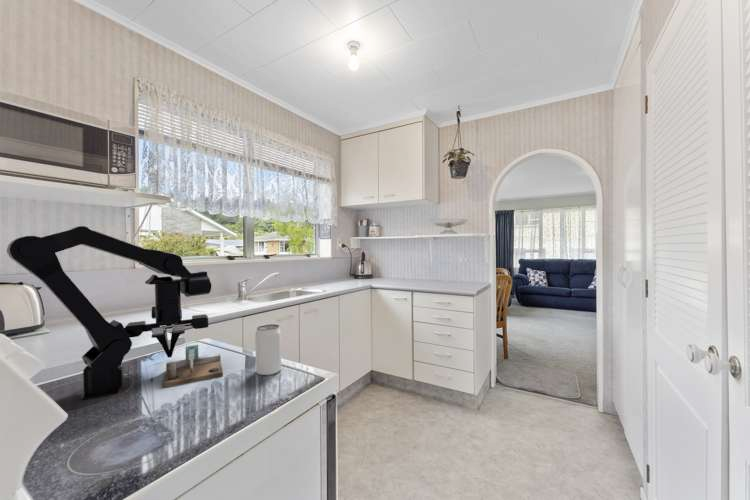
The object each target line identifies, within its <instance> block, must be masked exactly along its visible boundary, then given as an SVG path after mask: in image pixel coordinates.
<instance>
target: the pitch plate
mask: <svg viewBox="0 0 750 500" xmlns="http://www.w3.org/2000/svg"><path fill="white" fill-rule="evenodd" d="M222 366H223V365H222V362H221V353H216V354H211V355H204V356H198V359H196V360H193V373H190V361H186V358H185V359H180V360H174V361H168V362H166V363H165V368H166V369H165V373H164V377H163V382H162V388H163V389H164V388H169V387H174V386H179V385H184V384H189V383H193V382H194V383H195V382H199V380H200V381H204V380H203V379H205V380H209V378H210V379H215V378H220V377H223V375H224V372H223V367H222ZM219 376H220V377H219Z"/></svg>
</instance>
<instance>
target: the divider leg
mask: <svg viewBox="0 0 750 500" xmlns="http://www.w3.org/2000/svg"><path fill="white" fill-rule="evenodd" d="M198 357H199V344H194V345H188V346H185V359H186V361H190V373H193V360H196V359H198Z"/></svg>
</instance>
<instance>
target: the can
mask: <svg viewBox="0 0 750 500" xmlns="http://www.w3.org/2000/svg"><path fill="white" fill-rule="evenodd" d="M281 335H282V333H281V329H280V325H279V324H275V323H274V324H273V323H271V324H270V323H269V324H263V325H259V326H257V327H256V332H255V338H254V339H255V340H254V341H255V370H256V371H255V373H257V375H259V374H260V375H259V376H262V375H268V376H273V375H276V374H278V373H279V372H281V369H282V337H281ZM275 373H276V374H275ZM272 374H273V375H272Z"/></svg>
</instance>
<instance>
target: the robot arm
mask: <svg viewBox="0 0 750 500" xmlns="http://www.w3.org/2000/svg"><path fill="white" fill-rule="evenodd" d="M77 246H85V247H88V248H91V249H95V250H98V251H102V252H104V253H107V254H111V255H114V256H117V257H121V258H123V259H126V260H130V261H133V262H135V263H138V264H140V265H141V266H143V267H144V268H146V269H149V270H150V271H152V272H155V273H157V274H161V275H167V276H158V275H157V274H151V276H150V277H149V278H148V279H147V280H145V281H144V284H146V285H154V296H155V297H154V298H155V299H154V300H155V304H154V306H151V316H150V317H151V318H152V319H154V320H155V323H154V322H153V323H146V321H145V320H141V321H133V322H128V323H127V324H126V326H124V325H123V324H122V322H119V321H117V320H115V319H112V320H111V321H110V322H109V321H108V320H106V319H105V318H104V316H103V315H102V314H101V313H100V312H99V310H98V309H96V308H95V306H94V305H93V304H92V302H90V300H89V299H88V298H87V297H86V295H84V293H83V292H82V291H81V290H80V289H79V287H78V286H77V285H76V284H75V282H74V281H73V280H72V279H71V278H70V277H69V276H68V275H67V274H66V273H65V271H64V270H63V266H62V264H61V262H60V259H59V257H58V255H57V254H56V253H58V252H63V251H65V250H68V249H72V248H74V247H77ZM6 253H7V255H8V257H9V258H10V259H11V260H13V261H14V262H15V263H16V264H18V265H19V266H21V268H23V269H25V270H26V271H28V273H30V274H32V275H33V276H35V278H37V279H39V280H40V281H41V282H42V283H43V284H44V285H45V287H46V288H47V289H48V290H49V291H50V292H51V293H52V294H53V295H54V296H55V298H57V300H58V301H59V302H60V303H61V305H63V306H64V307H65V308H66V309H67V310H68V312H69V313H70V315H72V317H74V318H75V319H76V321H78V323H79V324H80V326H82V328H84V330H85V332H86V334H87V337H88V339H89V341H90V343H91V345H92V347H91V348H90V349H88V350H87V351H86V352H85V353H84V354H83V355H82V356H81V359H82V360H83V362H84V364H85V365H86V366H85V367H84V369H83V370H82V374H83V395H81V398H80V399H81V401H83V400H88V399H94V398H98V397H103V396H104V397H105V396H108V395H113V394H118V393H119V392H120V390H121V388H123V386H124V384H125V367H124V366H122V363H123V361H124V357H125V356H126V355H127V354H129V352H130V351H131V348H132V345H133V341H132V340H131V338H136V337H140V336H141V335H142V334H143V333H144V332H145V333H146V332H151V338H152V339H153V338H154V339H155V338H156V340H157V341H158V342H159V343H160V345H161V346H162V348H163V351H164V352H165V354H166V357H167V358H172V357H173V354H174V350H175V347H176V344H177V342H178V340H179V337H181V335H184V334H185V332H186V327H191V328H193V329H195V330H200V329H207V328H209V316H208V314H197V315H192V316H191V318H188V319H183V311H182V304H181V299H182V298H181V295H182V294H183V295H184V296H185V297H187V298H188V297H189V298H190V297H196V296H204V295H205V296H206V295H209V294H210V293H211V292H212V291H211V290H212V282H211V280H210V277H209V276H208V271H198V272H190V271H189V270H188V268H187V267H186V266H185V265H184V264H183V263H184V262H183V258H182V257H181V255H179V254H177V253H174V252H170V251H164V250H163V251H162V250H157V249H151V248H146V247H142V246H140V245H137V244H134V243H131V242H128V241H125V240H122V239H119V238H117V237H114V236H111V235H107V234H105V233H103V232H100V231H96V230H94V229H92V228H90V227H88V226H84V225H82V226H81V225H80V226H79V225H78V226H75V227H73V228H70V229H69V230H64V231H61V232H56V233H53V234H50V235H45V236H36V235H26V236H21V237H17V238H15V239H14V240H12V241H10V243H9V244H8V245H7V248H6ZM173 277H175V278H177V279H173ZM168 329H172V331H171V336H170V344H169V339H168Z"/></svg>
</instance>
